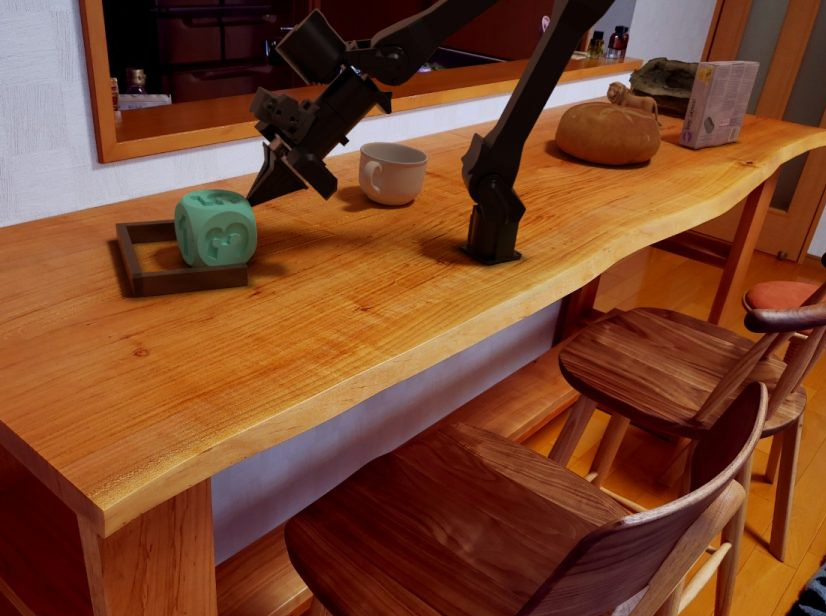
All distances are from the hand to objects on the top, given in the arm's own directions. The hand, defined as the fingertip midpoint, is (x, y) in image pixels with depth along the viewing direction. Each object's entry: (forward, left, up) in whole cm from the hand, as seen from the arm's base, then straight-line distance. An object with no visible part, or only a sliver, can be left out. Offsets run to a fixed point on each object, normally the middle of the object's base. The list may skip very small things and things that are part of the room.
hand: (247, 204), depth 95 cm
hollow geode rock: (+42, -141, -7) cm, 147 cm away
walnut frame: (+1, +8, -7) cm, 11 cm away
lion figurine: (+38, -118, -7) cm, 124 cm away
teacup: (+11, -29, -7) cm, 32 cm away
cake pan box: (+18, -121, -7) cm, 123 cm away
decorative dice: (0, +4, -7) cm, 8 cm away
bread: (+19, -89, -7) cm, 91 cm away
